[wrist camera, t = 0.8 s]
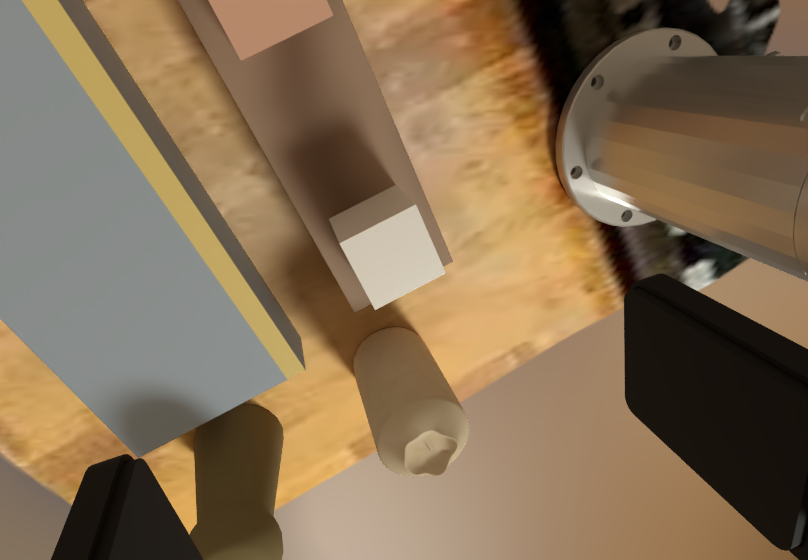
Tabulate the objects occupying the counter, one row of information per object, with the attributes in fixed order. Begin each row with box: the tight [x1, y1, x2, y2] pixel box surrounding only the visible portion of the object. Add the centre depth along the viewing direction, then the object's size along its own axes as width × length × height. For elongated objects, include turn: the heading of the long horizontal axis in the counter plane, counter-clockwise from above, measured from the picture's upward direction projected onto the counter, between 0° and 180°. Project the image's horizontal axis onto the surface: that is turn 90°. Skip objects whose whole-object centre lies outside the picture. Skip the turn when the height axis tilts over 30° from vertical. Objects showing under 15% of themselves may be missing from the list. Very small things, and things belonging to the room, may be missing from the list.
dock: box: [0, 0, 306, 458], centre depth 27 cm, size 11×24×4 cm, turn 24°
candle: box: [353, 327, 469, 476], centre depth 32 cm, size 6×6×10 cm
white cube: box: [329, 185, 446, 310], centre depth 26 cm, size 4×4×4 cm
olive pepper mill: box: [190, 404, 283, 560], centre depth 31 cm, size 6×6×11 cm
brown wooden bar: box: [178, 0, 453, 312], centre depth 27 cm, size 6×20×4 cm, turn 24°
